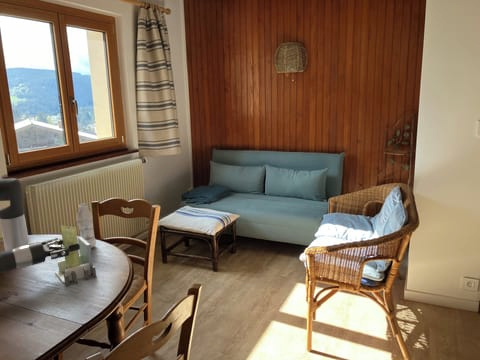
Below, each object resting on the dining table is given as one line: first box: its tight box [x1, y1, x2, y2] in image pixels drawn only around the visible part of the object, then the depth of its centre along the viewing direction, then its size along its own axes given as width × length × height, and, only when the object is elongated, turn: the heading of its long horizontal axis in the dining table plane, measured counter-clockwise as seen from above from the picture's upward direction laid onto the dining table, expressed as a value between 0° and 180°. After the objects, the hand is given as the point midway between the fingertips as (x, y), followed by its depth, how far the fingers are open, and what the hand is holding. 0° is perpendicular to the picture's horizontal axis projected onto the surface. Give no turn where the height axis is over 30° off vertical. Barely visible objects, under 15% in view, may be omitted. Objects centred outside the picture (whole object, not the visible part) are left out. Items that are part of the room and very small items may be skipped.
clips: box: [63, 264, 97, 287], centre depth 144 cm, size 2×11×4 cm, turn 129°
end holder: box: [54, 236, 94, 285], centre depth 149 cm, size 11×11×12 cm
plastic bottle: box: [76, 203, 97, 249], centre depth 171 cm, size 6×7×20 cm
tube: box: [60, 224, 80, 269], centre depth 147 cm, size 6×5×20 cm
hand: (75, 242), depth 148 cm, fingers open, 8 cm apart
